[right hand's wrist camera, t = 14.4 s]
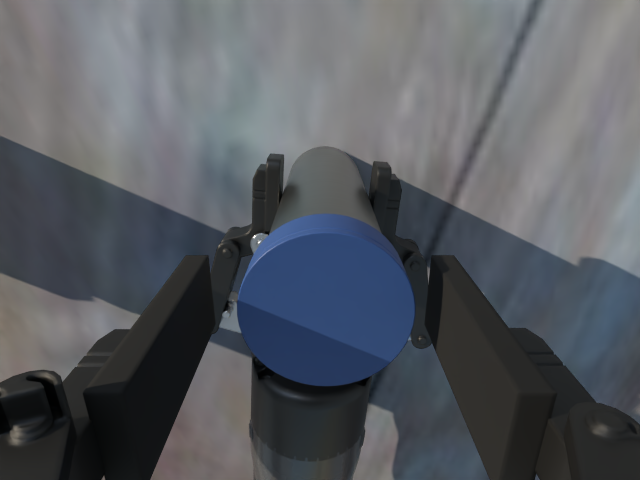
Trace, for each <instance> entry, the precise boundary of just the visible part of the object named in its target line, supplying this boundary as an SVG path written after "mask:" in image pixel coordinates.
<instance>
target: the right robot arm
mask: <svg viewBox="0 0 640 480" xmlns="http://www.w3.org/2000/svg"><path fill="white" fill-rule="evenodd" d="M215 325H216V322H215V312H214V303H213V294H212V285H211V275H210V266H209V257H208V255H186V256H185V257H184V259H183V260H182V261H181V263H180V264H179V265H178V267H177V268H176V269H175V271H174V272H173V273H172V275H171V276H170V277H169V279H168V280H167V281H166V283H165V284H164V285H163V287H162V288H161V289H160V291H159V292H158V293H157V295H156V296H155V297H154V299H153V300H152V301H151V303H150V304H149V305H148V307H147V308H146V309H145V311H144V312H143V313H142V315H141V316H140V317H139V319H138V320H137V321H136V322H135V324H134V325H133V326H132V328H131V329H115V330H113V331H111V332H110V333H108V334H107V335H105V336H104V337H102V338H101V339H99V340H98V341H97V342H96V343H95V344H94V346H93V347H92V348H91V349H90V350H89V352H88V353H87V356H84V357H83V359H82V360H81V361H80V362H79V363H78V366H77V367H75V368H74V369H73V370H72V372H71V373H70V374H69V375H68V376H67V378H66V379H65V380H64V381H63V382H62V380H61V376H59V375H58V374H57V373H55V372H54V371H47V370H37V371H29V372H25V373H22V374H19V375H16V376H13V377H11V378H9V379H7V380H5V381H3V382H1V383H0V480H101V479H102V478H103V476H105V480H150V479H151V476H152V474H153V471H154V469H155V467H156V464H157V462H158V460H159V457H160V455H161V453H162V450H163V448H164V445H165V443H166V441H167V438H168V436H169V434H170V431H171V429H172V426H173V424H174V422H175V419H176V417H177V415H178V412H179V410H180V408H181V405H182V403H183V400H184V398H185V396H186V393H187V391H188V389H189V386H190V384H191V382H192V379H193V377H194V374H195V372H196V370H197V367H198V365H199V363H200V360H201V358H202V356H203V353H204V351H205V348H206V346H207V344H208V341H209V339H210V337H211V334H212V332H213V330H214V327H215ZM424 325H425V327H426V330H427V332H428V334H429V337H430V339H431V341H432V344H433V346H434V348H435V351H436V353H437V356H438V358H439V360H440V363H441V365H442V367H443V370H444V372H445V374H446V377H447V379H448V382H449V384H450V386H451V389H452V391H453V393H454V396H455V398H456V400H457V403H458V405H459V408H460V410H461V412H462V415H463V417H464V419H465V422H466V424H467V427H468V429H469V431H470V434H471V436H472V438H473V441H474V443H475V445H476V448H477V450H478V453H479V455H480V457H481V460H482V462H483V464H484V467H485V469H486V471H487V474H488V476H489V479H490V480H535V476H536V474H537V475H538V477H539V479H540V480H640V424H638V423H637V422H636V421H635V420H634V419H633V418H631V417H630V416H628V415H627V414H625V413H623V412H621V411H619V410H618V409H616V408H613V407H610V406H607V405H604V404H601V403H596V401H595V400H594V399H593V398H592V397H591V396H590V394H589V393H588V392H587V391H586V390H585V389H584V387H583V386H582V385H581V384H580V383H579V381H578V380H577V379H576V378H575V377H574V376H573V374H572V373H571V372H570V371H569V370H568V369H567V367H566V366H563V363H562V362H561V360H560V359H559V358H558V357H557V356H556V355H554V353H553V351H552V350H551V349H550V347H549V346H548V345H547V344H546V343H545V342H544V340H543V339H541V338H540V337H538V336H537V335H535V334H534V333H532V332H531V331H529V330H528V329H526V328H508V326H507V325H506V324H505V322H504V321H503V320H502V319H501V317H500V316H499V315H498V313H497V312H496V311H495V309H494V308H493V307H492V305H491V304H490V303H489V301H488V300H487V299H486V297H485V296H484V295H483V293H482V292H481V291H480V289H479V288H478V287H477V285H476V284H475V283H474V281H473V280H472V279H471V277H470V276H469V275H468V273H467V272H466V271H465V269H464V268H463V267H462V265H461V264H460V263H459V261H458V260H457V259H456V257H455V256H454V255H432V257H431V266H430V275H429V285H428V294H427V303H426V312H425V322H424Z"/></svg>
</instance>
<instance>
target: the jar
mask: <svg viewBox="0 0 640 480" xmlns="http://www.w3.org/2000/svg"><path fill="white" fill-rule="evenodd" d="M313 214H338V215H344V216H349V217H352V218H355V219H358V220H360V221H362V222H365V223H367V224H369V225H370V226H372V227H373V228H375V229H377V230H378V231H379V232H380V233H381V231H380V228H379V225H378V222H377V220H376V217H375V214H374V211H373V209H372V206H371V203H370V200H369V198H368V195H367V192H366V189H365V187H364V184H363V181H362V178H361V176H360V173H359V170H358V168H357V166H356V164H355V162H354V161H353V160H352V159H351V157H350V156H348V155H347V154H346V153H344V152H343V151H341V150H339V149H336V148H332V147H317V148H313V149H311V150H309V151H307V152H305V153H304V154H302V155H301V156H300V157H299V158H298V159H297V160H296V161H295V163H294V165H293V166H292V169H291V171H290V174H289V177H288V180H287V183H286V186H285V189H284V192H283V195H282V198H281V201H280V204H279V207H278V210H277V213H276V216H275V219H274V221H273V224H272V227H271V230H270V233H269V234H271V233H272V232H273V231H274V230H276V229H277V228H279V227H280V226H282V225H283V224H285V223H288V222H290V221H292V220H294V219H297V218H300V217H303V216H308V215H313ZM381 234H382V233H381Z"/></svg>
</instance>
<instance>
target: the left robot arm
mask: <svg viewBox="0 0 640 480" xmlns="http://www.w3.org/2000/svg"><path fill="white" fill-rule="evenodd" d="M283 171H284V155H282V154H270V155H269V157H268V158H267V163H266V164H261V165H260V166H259V168H258V169H257V171H256V173H255V175H254V178H253V201H252V224H250V225H249V226H245V227H242V228H240V227H232V228H230V229H229V230H228V231H227V233H226V235H225V236H224V238H223V239H222V241H221V243H220V244H219V246H218V248H217V250H216V254H215V258H214V262H213V266H212V270H211V273H210V275H211V285H212V294H213V303H214V312H215V322H216V325H215V327H214V330H213V332H212V334H214V333H216V332H217V330H218V328H219V327H220V328H223V329H227V330H230V331H234V332H238V333H241V330H240V327H239V323H238V317H237V301H238V293H237V292H236V291H232V289H233V285H234V282H235V278H236V275H237V271H238V268H239V264H240V261H241V257H244V256H248V255H252V254H254V253H255V251H256V250H257V248H258V247H259V245H260V244H261V243H262V242H263V240H264V239H265V238H266V237H267V236H268V235H269V233H270V230H271V227H272V224H273V221H274V219H275V216H276V213H277V210H278V207H279V204H280V201H281V198H282V195H283ZM401 192H402V189H401V185H400V181H399V179H398V178H397V176H396V175H395V174H391V167H390V165H389V164H388V163H387V162H377V161H374V162H373V167H372V175H371V183H370V191H369V200H370V203H371V206H372V209H373V211H374V214H375V217H376V220H377V222H378V225H379V228H380V231H381V233H382V234H383V235H384V236H385V237H386V238H387V239H388V240H389V242H390V243H391V244H392V245H393V247H394V248H395V250H396V251H397V253H398V255H399V257H400V259H401V261H402V264H403V266H404V268H405V271H406V273H407V276H408V278H409V280H410V283H411V286H412V289H413V292H414V297H415V304H416V309H415V320H414V325H413V328H412V332H411V335H410V337H409V339H408V341H410V340H411V341H412V344H413V345H414V346H415V347H416V348H420V349H423V348H427V347H428V346H430V345H431V343H432V341H431V339H430V337H429V334H428V332H427V330H426V327H425V325H424V322H425V312H426V303H427V294H428V275H427V264H426V261H425V259H424V257H423V256H422V255H421V254H420V252H419V249H418V246H417V244H416V243H415V242H414V241H413V240H411V239H402V238H399V237H397V236H396V235H395V230H396V224H397V218H398V211H399V205H400V198H401ZM241 334H242V333H241ZM251 353H252V351H251ZM371 380H372V375H371V376H369V377H367V378H365V379H362V380H360V381H357V382H353V383H349V384H344V385H338V386H315V385H308V384H303V383H299V382H296V381H293V380H290V379H288V378H285V377H283V376H281V375H279V374H277V373H275V372H274V371H272V370H271V369H269V368H268V367H267V366H265V365H264V364H263V363H262V362H261V361H260V360H259V359H258V358H257V357H256V356H255V355H254V354H253V353H252V387H251V420H250V424H249V435H250V438H251V454H252V460H253V465H254V478H253V480H352V479H353V474H354V472H355V469H356V466H357V463H358V460H359V456H360V451H361V447H362V446H363V441H364V436H365V427H364V425H365V419H366V412H367V406H368V399H369V393H370V386H371Z"/></svg>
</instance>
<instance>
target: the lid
mask: <svg viewBox="0 0 640 480" xmlns="http://www.w3.org/2000/svg"><path fill="white" fill-rule="evenodd" d="M415 309H416V304H415V297H414V292H413V289H412V286H411V283H410V280H409V278H408V276H407V273H406V271H405V268H404V266H403V264H402V261H401V259H400V257H399V255H398V253H397V251H396V250H395V248H394V247H393V245H392V244H391V243H390V242H389V240H388V239H387V238H386V237H385V236H384V235H383V234H381V233H380V232H379V231H378V230H377V229H375V228H373V227H372V226H370V225H369V224H367V223H365V222H362V221H360V220H358V219H355V218H352V217H349V216H344V215H338V214H313V215H308V216H303V217H300V218H297V219H294V220H292V221H290V222H288V223H285V224H283V225H282V226H280V227H279V228H277V229H276V230H274V231H273V232H272V233H271V234H269V235H268V236H267V237H266V238H265V239H264V240H263V242H262V243H261V244H260V245H259V247H258V248H257V250H256V251H255V253H254V255H253V257H252V259H251V261H250V264H249V266H248V269H247V271H246V274H245V276H244V279H243V282H242V284H241V287H240V291H239V294H238V301H237V317H238V323H239V327H240V330H241V333H242V336H243V338H244V340H245V342H246V344H247V345H248V347H249V348H250V350H251V351H252V353H253V354H254V355H255V356H256V357H257V358H258V359H259V360H260V361H261V362H262V363H263V364H264V365H265V366H267V367H268V368H269V369H271V370H272V371H274V372H275V373H277V374H279V375H281V376H283V377H285V378H288V379H290V380H293V381H296V382H299V383H303V384H308V385H315V386H338V385H344V384H349V383H353V382H357V381H360V380H362V379H365V378H367V377H369V376H371V375H373V374H375V373H377V372H379V371H380V370H381V369H383V368H384V367H386V366H387V365H388V364H389V363H390V362H392V361H393V360H394V359H395V358H396V356H397V355H398V354H399V353H400V352H401V350H402V349H403V347H404V346H405V344H406V343H407V341H408V339H409V337H410V335H411V332H412V328H413V325H414V320H415Z"/></svg>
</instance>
